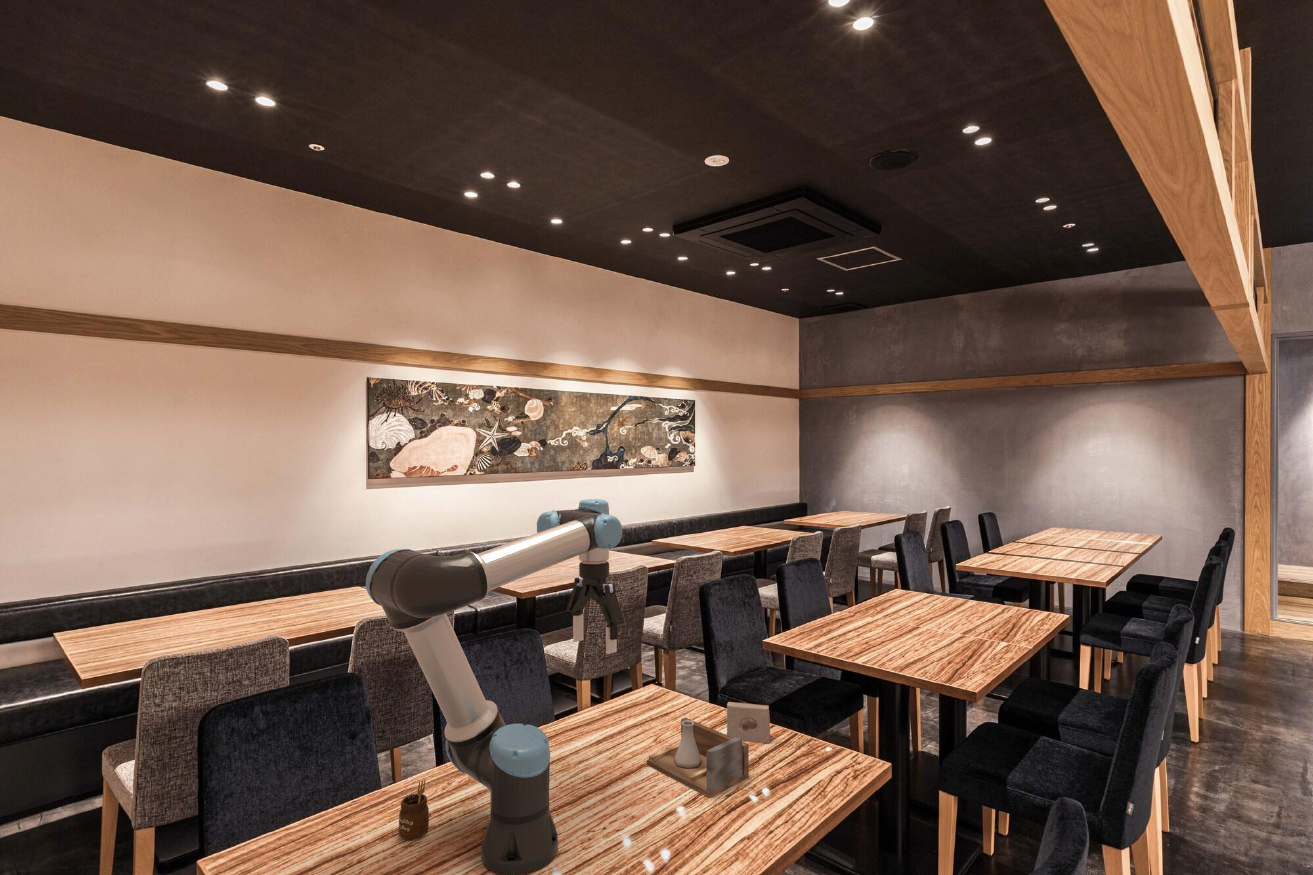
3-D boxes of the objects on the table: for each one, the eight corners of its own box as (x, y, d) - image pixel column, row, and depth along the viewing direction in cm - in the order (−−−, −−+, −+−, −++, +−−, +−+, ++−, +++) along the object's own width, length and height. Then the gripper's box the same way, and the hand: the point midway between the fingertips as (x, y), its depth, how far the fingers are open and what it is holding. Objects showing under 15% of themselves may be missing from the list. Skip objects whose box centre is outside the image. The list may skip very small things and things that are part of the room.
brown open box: (709, 798, 151) (709, 753, 152) (646, 764, 168) (646, 724, 168) (748, 777, 161) (748, 735, 161) (685, 748, 177) (685, 710, 177)
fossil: (726, 740, 182) (726, 705, 182) (727, 734, 186) (727, 700, 186) (770, 744, 180) (769, 709, 180) (770, 738, 183) (770, 704, 183)
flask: (702, 756, 170) (702, 717, 170) (701, 769, 163) (701, 729, 163) (674, 755, 170) (674, 716, 171) (672, 768, 163) (672, 728, 163)
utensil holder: (418, 821, 142) (419, 765, 143) (435, 832, 138) (435, 774, 139) (393, 833, 138) (393, 776, 138) (409, 845, 134) (409, 785, 134)
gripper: (638, 565, 157) (638, 654, 157) (577, 554, 176) (577, 633, 175) (613, 569, 152) (613, 661, 152) (553, 557, 170) (553, 639, 170)
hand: (594, 646), depth 163 cm, fingers open, 13 cm apart
